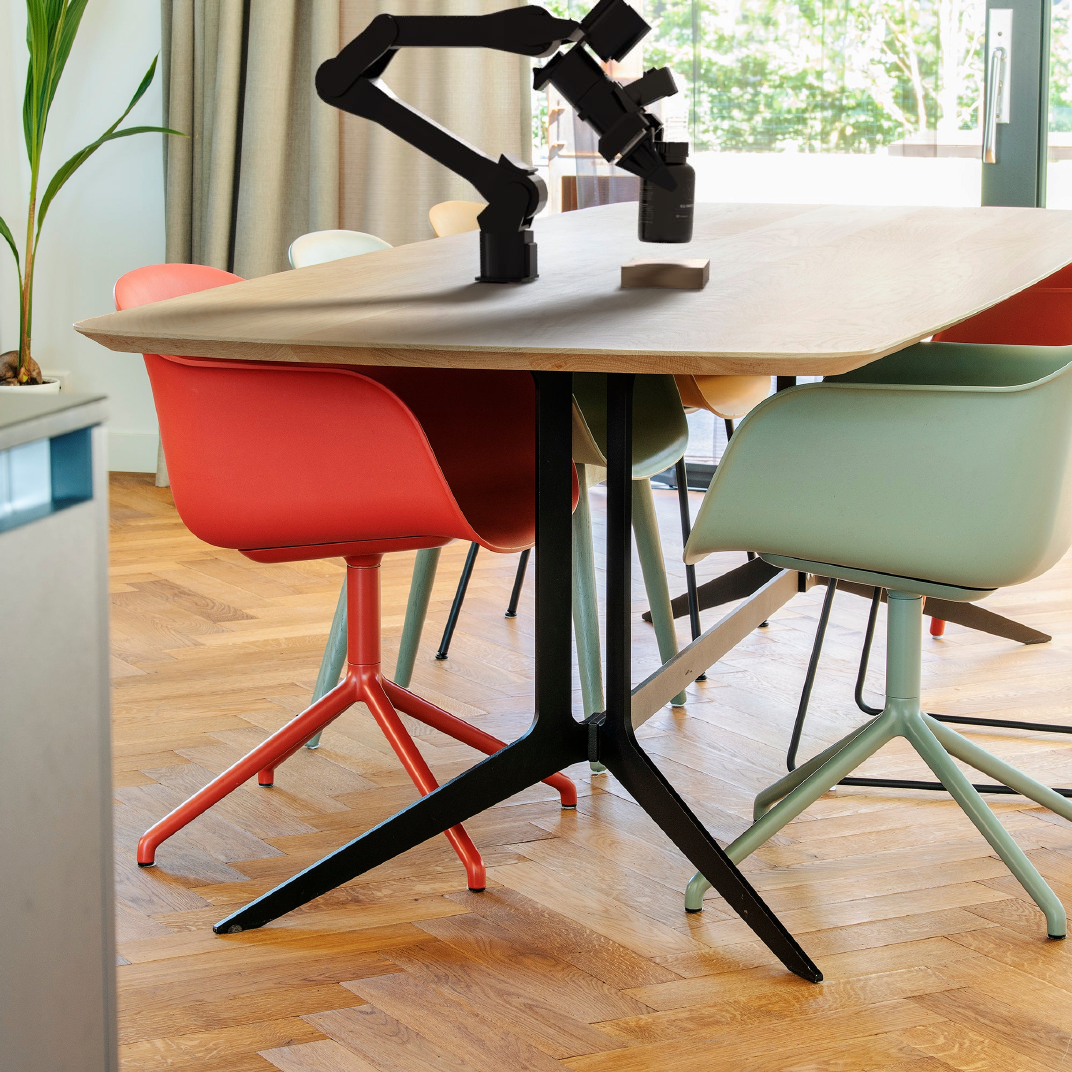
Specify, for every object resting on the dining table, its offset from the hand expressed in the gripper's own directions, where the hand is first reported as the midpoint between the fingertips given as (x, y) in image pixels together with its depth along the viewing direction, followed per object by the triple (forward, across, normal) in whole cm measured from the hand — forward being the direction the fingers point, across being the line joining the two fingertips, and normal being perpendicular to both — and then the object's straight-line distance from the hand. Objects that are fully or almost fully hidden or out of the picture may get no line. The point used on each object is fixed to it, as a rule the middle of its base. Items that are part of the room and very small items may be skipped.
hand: (678, 187), depth 159 cm
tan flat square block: (+8, 0, +9) cm, 12 cm away
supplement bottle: (+4, 0, +6) cm, 7 cm away
